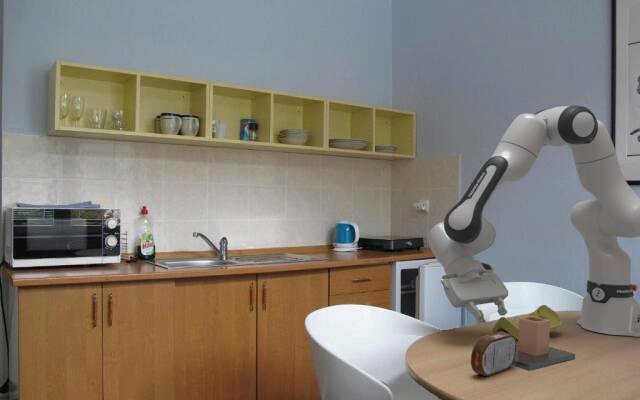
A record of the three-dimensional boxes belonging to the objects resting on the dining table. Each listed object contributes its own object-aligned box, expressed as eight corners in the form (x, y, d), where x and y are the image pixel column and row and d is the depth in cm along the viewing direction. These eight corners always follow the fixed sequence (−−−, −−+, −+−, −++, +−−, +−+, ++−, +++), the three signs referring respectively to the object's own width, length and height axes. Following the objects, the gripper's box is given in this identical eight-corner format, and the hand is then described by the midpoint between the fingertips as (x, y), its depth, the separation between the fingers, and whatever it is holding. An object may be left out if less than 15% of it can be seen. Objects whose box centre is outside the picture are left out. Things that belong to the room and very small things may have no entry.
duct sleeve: (530, 348, 137) (531, 316, 137) (548, 353, 133) (549, 320, 133) (518, 350, 134) (519, 318, 134) (536, 356, 130) (537, 322, 130)
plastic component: (527, 336, 145) (498, 313, 152) (516, 357, 148) (489, 334, 155) (569, 322, 156) (540, 301, 163) (558, 342, 159) (531, 320, 166)
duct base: (531, 346, 143) (532, 326, 143) (574, 358, 133) (575, 337, 133) (485, 356, 133) (486, 334, 133) (529, 370, 123) (529, 347, 123)
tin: (505, 364, 127) (507, 328, 127) (518, 367, 125) (519, 330, 125) (468, 377, 117) (470, 338, 117) (481, 381, 115) (483, 341, 115)
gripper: (444, 268, 144) (473, 313, 136) (495, 264, 155) (524, 305, 147) (431, 283, 148) (458, 327, 140) (482, 278, 159) (509, 318, 151)
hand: (492, 316), depth 144 cm, fingers open, 8 cm apart
